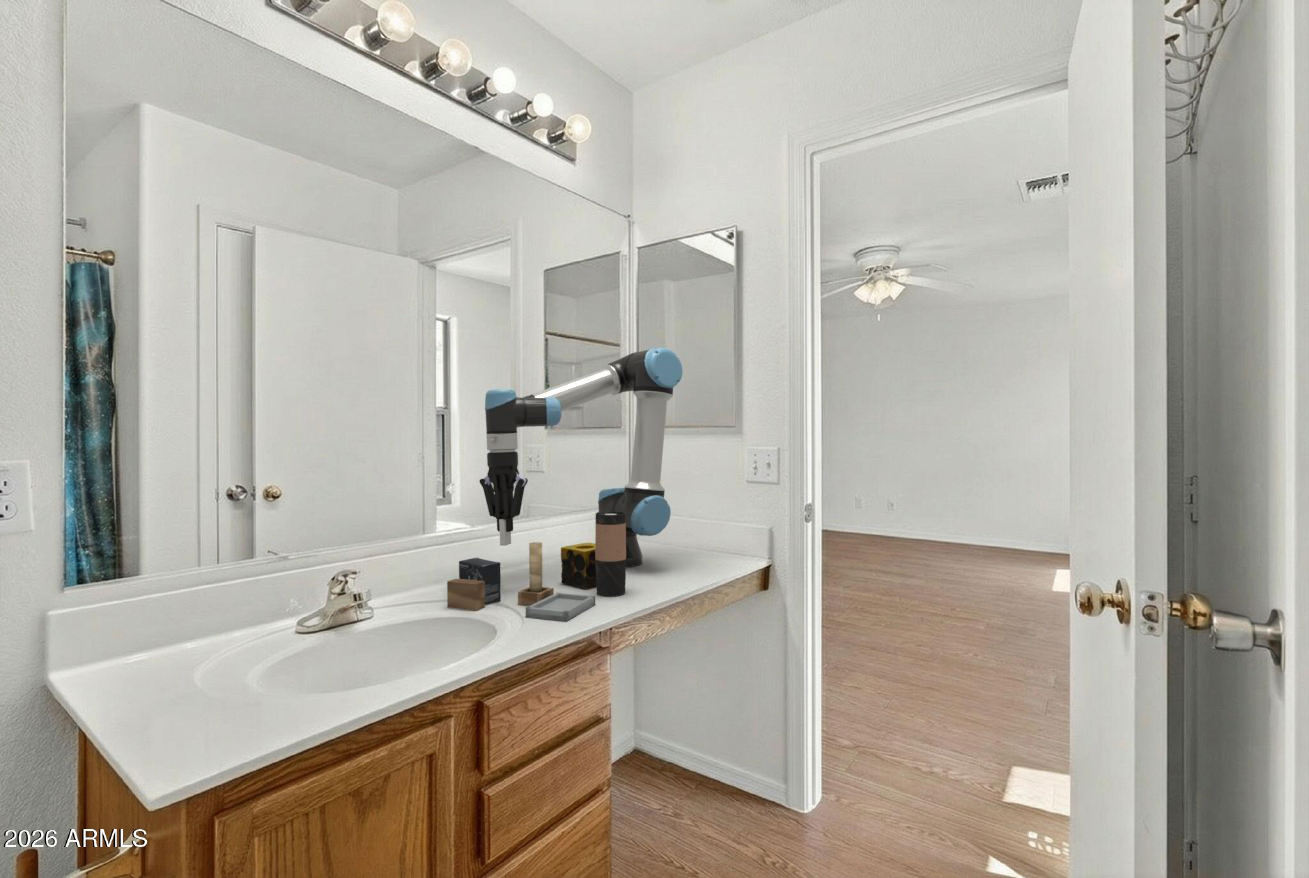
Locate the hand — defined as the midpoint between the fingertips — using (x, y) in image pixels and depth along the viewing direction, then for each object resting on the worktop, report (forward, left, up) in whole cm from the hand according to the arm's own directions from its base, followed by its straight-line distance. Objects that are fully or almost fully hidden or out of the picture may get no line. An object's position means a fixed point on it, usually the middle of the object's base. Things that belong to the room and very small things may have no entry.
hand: (505, 544), depth 159 cm
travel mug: (-7, +26, -12) cm, 29 cm away
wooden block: (+16, 0, -12) cm, 20 cm away
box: (+9, -1, -12) cm, 15 cm away
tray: (+11, +22, -12) cm, 27 cm away
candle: (-14, +16, -12) cm, 25 cm away
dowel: (+7, +13, -12) cm, 19 cm away
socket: (+7, +13, -12) cm, 19 cm away
